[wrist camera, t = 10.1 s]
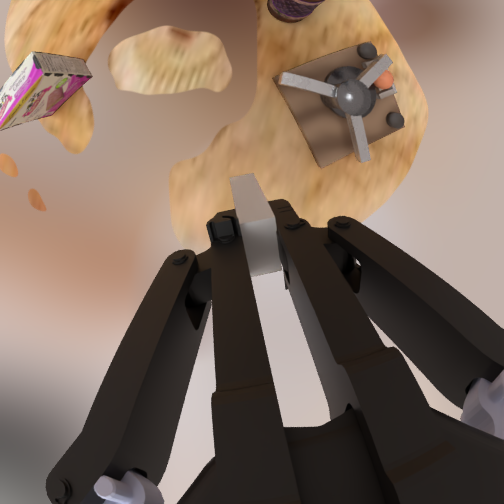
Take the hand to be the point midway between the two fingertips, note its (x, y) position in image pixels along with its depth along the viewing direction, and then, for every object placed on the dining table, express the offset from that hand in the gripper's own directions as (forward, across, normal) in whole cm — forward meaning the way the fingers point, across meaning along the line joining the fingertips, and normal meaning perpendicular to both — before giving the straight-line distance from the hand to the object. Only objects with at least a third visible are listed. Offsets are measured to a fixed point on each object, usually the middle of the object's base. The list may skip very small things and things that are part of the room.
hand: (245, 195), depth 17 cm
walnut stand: (+29, +22, +4) cm, 37 cm away
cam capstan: (+28, +19, +2) cm, 34 cm away
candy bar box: (+30, -26, +18) cm, 43 cm away
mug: (+30, +15, +23) cm, 40 cm away
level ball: (+28, +28, +8) cm, 40 cm away
